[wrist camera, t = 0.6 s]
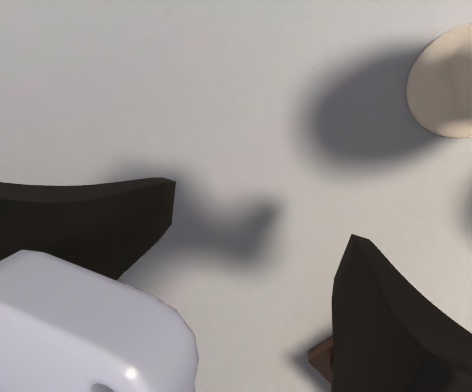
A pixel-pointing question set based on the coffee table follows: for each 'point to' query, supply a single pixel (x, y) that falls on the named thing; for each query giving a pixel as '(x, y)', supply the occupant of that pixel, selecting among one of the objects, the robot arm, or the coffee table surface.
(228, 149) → the coffee table surface
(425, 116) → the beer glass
